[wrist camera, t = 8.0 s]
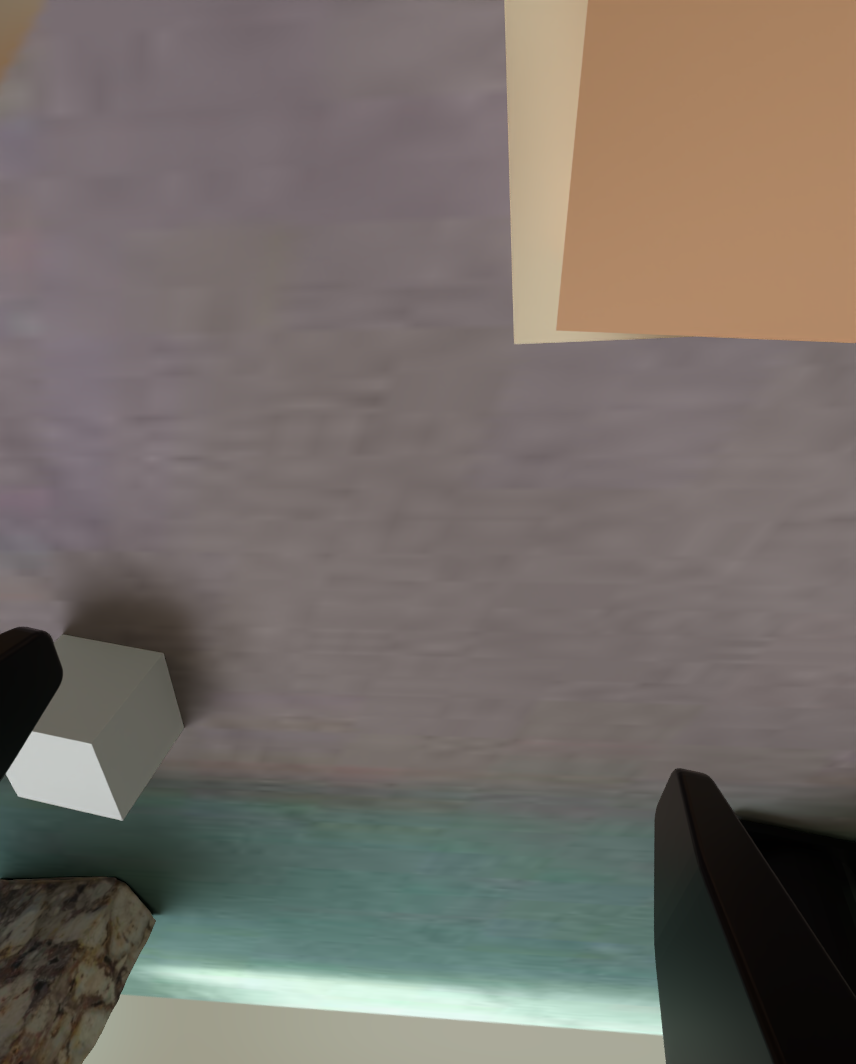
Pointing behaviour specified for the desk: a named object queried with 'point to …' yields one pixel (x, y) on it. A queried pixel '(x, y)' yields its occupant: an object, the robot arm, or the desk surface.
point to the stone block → (64, 963)
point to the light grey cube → (100, 729)
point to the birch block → (543, 158)
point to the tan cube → (714, 171)
